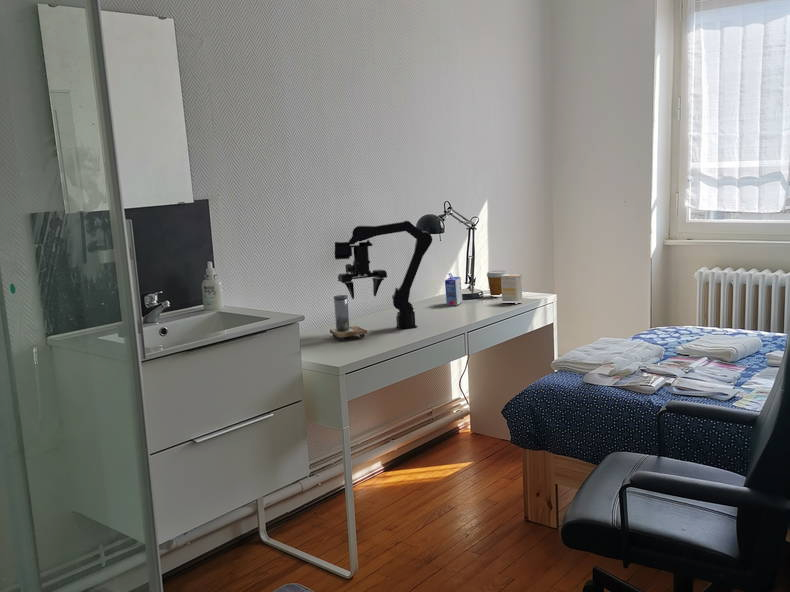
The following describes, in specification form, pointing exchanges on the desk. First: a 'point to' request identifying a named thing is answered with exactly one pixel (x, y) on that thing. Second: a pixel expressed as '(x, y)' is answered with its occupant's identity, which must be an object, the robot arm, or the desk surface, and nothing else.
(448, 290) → the ink cartridge box
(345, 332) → the frame
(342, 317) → the canister
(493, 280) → the disposable coffee cup
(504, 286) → the supplement box
